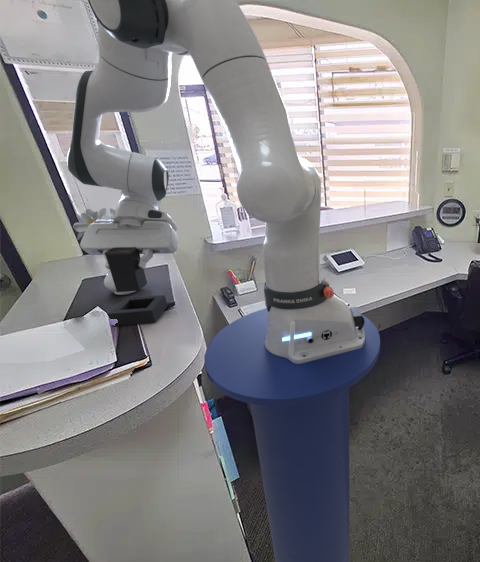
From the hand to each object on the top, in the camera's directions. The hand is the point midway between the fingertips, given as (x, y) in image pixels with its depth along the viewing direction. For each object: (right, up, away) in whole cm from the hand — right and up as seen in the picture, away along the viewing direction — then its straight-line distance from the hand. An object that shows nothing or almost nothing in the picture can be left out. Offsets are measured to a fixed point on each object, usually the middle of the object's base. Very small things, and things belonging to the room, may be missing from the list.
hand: (125, 268), depth 75 cm
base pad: (0, -12, +6) cm, 14 cm away
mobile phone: (-29, +1, +36) cm, 47 cm away
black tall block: (0, -5, +3) cm, 5 cm away
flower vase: (-16, -6, +20) cm, 26 cm away
